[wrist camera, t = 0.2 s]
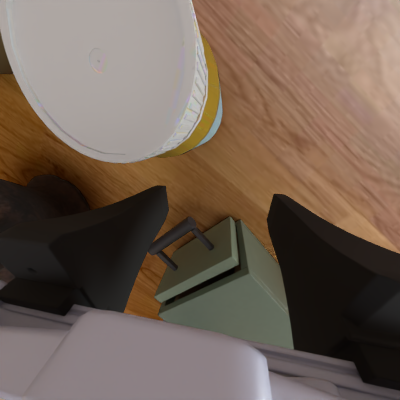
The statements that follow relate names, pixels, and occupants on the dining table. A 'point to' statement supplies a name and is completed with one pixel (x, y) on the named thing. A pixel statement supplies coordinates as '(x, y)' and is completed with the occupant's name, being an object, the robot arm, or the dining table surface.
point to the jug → (37, 204)
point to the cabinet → (240, 299)
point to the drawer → (197, 258)
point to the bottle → (115, 74)
